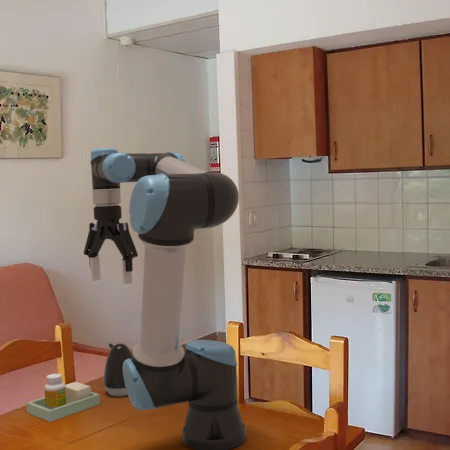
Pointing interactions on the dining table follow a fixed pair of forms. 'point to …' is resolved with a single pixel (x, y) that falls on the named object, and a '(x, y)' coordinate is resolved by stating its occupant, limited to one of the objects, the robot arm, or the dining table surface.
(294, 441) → the dining table surface
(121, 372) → the pump dispenser
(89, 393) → the off-white upright cuboid
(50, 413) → the tray
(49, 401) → the supplement bottle
